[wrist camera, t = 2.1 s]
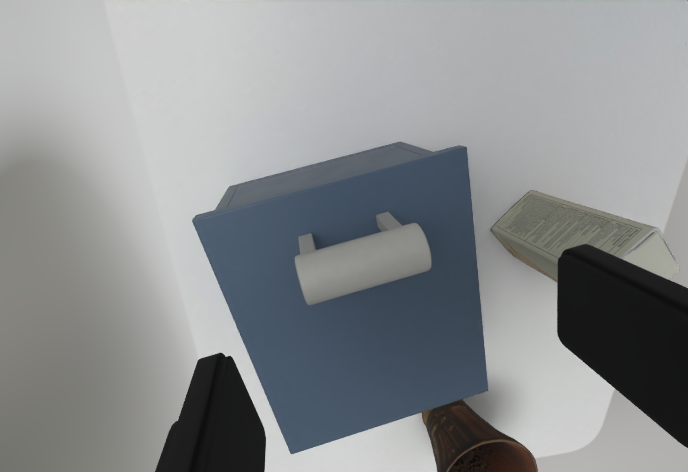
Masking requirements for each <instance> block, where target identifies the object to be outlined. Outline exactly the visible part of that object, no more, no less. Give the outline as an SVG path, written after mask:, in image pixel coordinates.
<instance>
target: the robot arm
mask: <svg viewBox="0 0 688 472" xmlns="http://www.w3.org/2000/svg"><path fill="white" fill-rule="evenodd" d="M557 332H558V337H559V339H560V341H561V342H562V344H563V345H564V346H565V347H566V348H568V349H569V350H570V351H571V352H572V353H574V354H575V355H576V356H577V357H578V358H580V359H581V360H582V361H583V362H584V363H586V364H587V365H588V366H589V367H590V368H591V369H593V370H594V371H595V372H596V373H597V374H599V375H600V376H601V377H602V378H603V379H605V380H606V381H607V382H608V383H609V384H610V385H612V386H613V387H614V388H615V389H616V390H618V391H619V392H620V393H621V394H622V395H624V396H625V397H626V398H627V399H628V400H630V401H631V402H632V403H633V404H634V405H635V406H637V407H638V408H639V409H640V410H641V411H643V412H644V413H645V414H646V415H647V416H649V417H650V418H651V419H652V420H653V421H655V422H656V423H657V424H658V425H659V426H661V427H662V428H663V429H664V430H665V431H666V432H668V433H669V434H670V435H671V436H672V437H674V438H675V439H676V440H677V441H678V442H680V443H681V444H682V445H684V446H685V447H687V448H688V288H686V287H683V286H681V285H679V284H677V283H675V282H672V281H670V280H668V279H666V278H663V277H661V276H659V275H657V274H654V273H652V272H650V271H648V270H645V269H643V268H641V267H639V266H636V265H634V264H632V263H630V262H627V261H625V260H623V259H621V258H618V257H616V256H614V255H612V254H609V253H607V252H605V251H603V250H600V249H598V248H596V247H594V246H591V245H588V244H582V245H579V246H575V247H572V248H569V249H565V250H564V251H563V252H562V254H561V257H559V259H558V297H557ZM265 448H266V437H265V431H264V427H263V425H262V422H261V420H260V418H259V416H258V414H257V411H256V409H255V407H254V405H253V402H252V400H251V398H250V396H249V393H248V391H247V389H246V387H245V384H244V382H243V380H242V378H241V375H240V373H239V371H238V369H237V367H236V364H235V362H234V360H233V358H232V357H231V356H228V357H225V355H224V354H223V353H218V354H215V355H211V356H208V357H205V358H201V359H199V360H198V362H197V365H196V368H195V371H194V374H193V377H192V380H191V383H190V386H189V389H188V392H187V395H186V398H185V401H184V404H183V407H182V410H181V413H180V416H179V420H178V421H176V422H175V423H174V424H173V425H172V427H171V429H170V431H169V433H168V436H167V439H166V442H165V445H164V448H163V451H162V454H161V457H160V459H159V462H158V465H157V468H156V471H155V472H264V470H265Z"/></svg>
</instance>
